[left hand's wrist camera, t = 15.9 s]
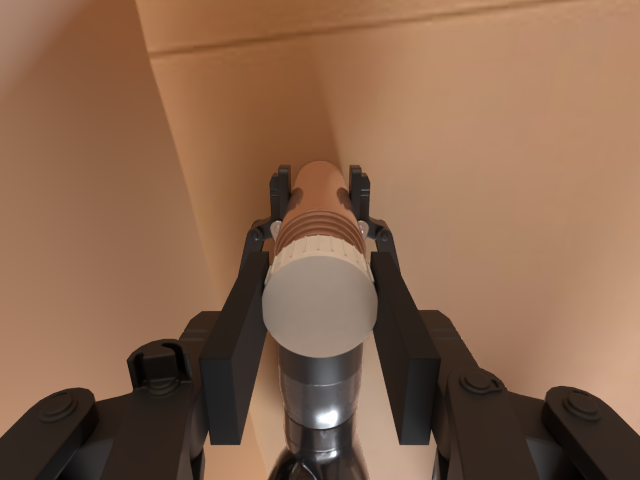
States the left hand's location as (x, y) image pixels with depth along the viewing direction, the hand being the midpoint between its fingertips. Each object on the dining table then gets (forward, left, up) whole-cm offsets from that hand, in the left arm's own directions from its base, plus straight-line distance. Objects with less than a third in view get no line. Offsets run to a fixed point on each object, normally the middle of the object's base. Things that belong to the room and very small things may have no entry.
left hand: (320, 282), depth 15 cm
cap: (0, 0, +2) cm, 2 cm away
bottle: (0, 0, -20) cm, 20 cm away
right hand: (-3, 0, -13) cm, 13 cm away
